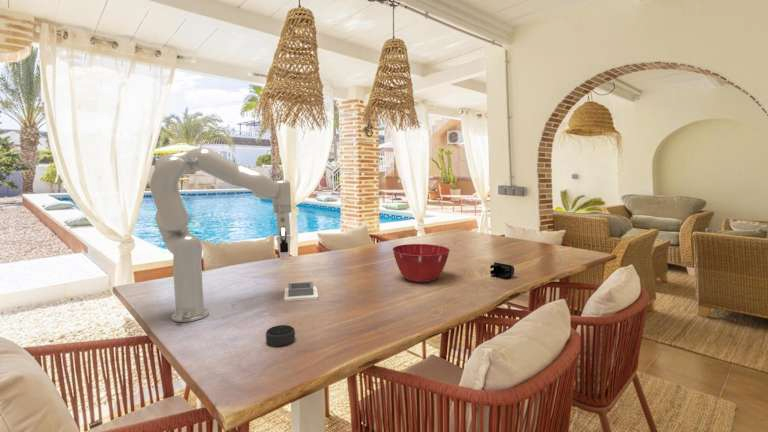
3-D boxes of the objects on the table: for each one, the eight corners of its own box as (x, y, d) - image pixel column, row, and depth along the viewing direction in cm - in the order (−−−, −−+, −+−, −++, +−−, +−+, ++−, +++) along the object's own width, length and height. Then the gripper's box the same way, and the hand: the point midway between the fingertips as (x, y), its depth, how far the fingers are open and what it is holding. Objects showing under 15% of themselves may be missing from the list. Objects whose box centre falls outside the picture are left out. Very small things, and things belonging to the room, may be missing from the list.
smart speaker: (297, 335, 133) (296, 324, 133) (292, 347, 124) (291, 334, 124) (270, 336, 133) (269, 324, 133) (263, 347, 124) (262, 335, 124)
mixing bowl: (460, 278, 203) (461, 248, 201) (426, 290, 182) (426, 257, 180) (416, 269, 222) (416, 241, 220) (380, 279, 201) (380, 249, 200)
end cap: (514, 277, 203) (514, 264, 203) (506, 280, 199) (507, 266, 198) (497, 274, 211) (497, 261, 210) (489, 276, 206) (489, 263, 205)
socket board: (318, 298, 172) (317, 289, 171) (284, 301, 169) (283, 292, 168) (316, 288, 187) (316, 280, 187) (285, 290, 184) (284, 282, 184)
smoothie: (284, 261, 171) (283, 228, 169) (273, 259, 174) (272, 227, 172) (295, 258, 176) (293, 226, 174) (284, 257, 179) (283, 225, 178)
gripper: (291, 210, 165) (293, 254, 167) (291, 207, 182) (293, 246, 184) (272, 211, 163) (274, 255, 165) (273, 207, 180) (275, 247, 182)
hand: (284, 250), depth 174 cm, fingers closed on smoothie, 6 cm apart
